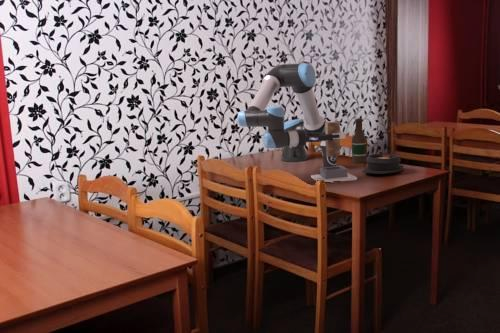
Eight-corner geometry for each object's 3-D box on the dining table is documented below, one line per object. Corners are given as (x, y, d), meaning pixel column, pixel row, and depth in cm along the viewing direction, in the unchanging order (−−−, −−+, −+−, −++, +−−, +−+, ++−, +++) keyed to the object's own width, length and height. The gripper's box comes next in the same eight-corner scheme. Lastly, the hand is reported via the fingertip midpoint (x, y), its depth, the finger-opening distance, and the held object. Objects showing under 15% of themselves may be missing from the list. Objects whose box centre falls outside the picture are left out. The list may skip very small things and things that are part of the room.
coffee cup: (338, 166, 290) (338, 139, 287) (339, 170, 281) (339, 141, 278) (320, 167, 291) (319, 139, 288) (321, 171, 282) (320, 142, 279)
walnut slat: (328, 156, 258) (327, 123, 255) (325, 155, 261) (325, 122, 258) (340, 155, 260) (339, 122, 257) (337, 154, 262) (337, 121, 259)
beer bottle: (358, 164, 294) (357, 120, 289) (349, 162, 301) (348, 119, 296) (369, 162, 297) (369, 118, 293) (360, 160, 304) (359, 117, 299)
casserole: (380, 166, 287) (380, 150, 285) (412, 170, 274) (413, 153, 272) (353, 174, 270) (353, 158, 268) (386, 179, 256) (386, 161, 255)
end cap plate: (321, 183, 254) (320, 172, 253) (311, 177, 268) (310, 167, 267) (356, 179, 258) (356, 169, 257) (345, 174, 271) (345, 163, 270)
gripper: (291, 144, 263) (337, 140, 268) (302, 148, 248) (350, 144, 253) (291, 128, 262) (337, 125, 267) (301, 132, 246) (350, 128, 251)
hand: (343, 134), depth 260 cm, fingers closed on walnut slat, 3 cm apart
